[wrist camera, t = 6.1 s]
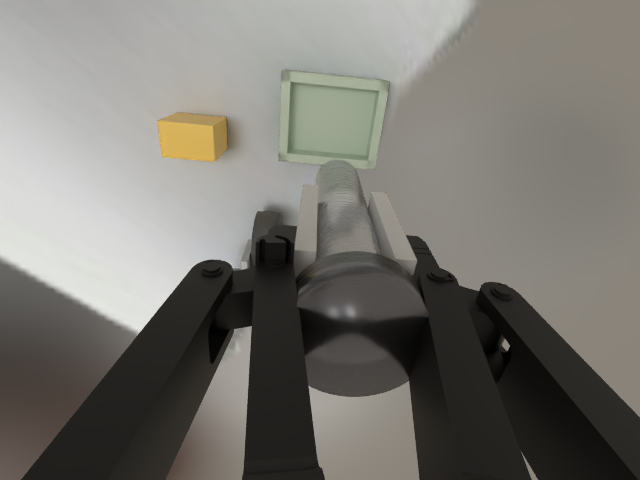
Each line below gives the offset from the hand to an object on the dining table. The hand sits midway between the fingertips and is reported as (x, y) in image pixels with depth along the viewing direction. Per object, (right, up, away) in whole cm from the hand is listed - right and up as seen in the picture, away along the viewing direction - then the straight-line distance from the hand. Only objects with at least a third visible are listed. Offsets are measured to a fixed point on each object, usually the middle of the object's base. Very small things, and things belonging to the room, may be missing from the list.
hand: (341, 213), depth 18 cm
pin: (0, +3, +5) cm, 5 cm away
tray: (0, +14, +25) cm, 28 cm away
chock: (-16, +12, +26) cm, 33 cm away
